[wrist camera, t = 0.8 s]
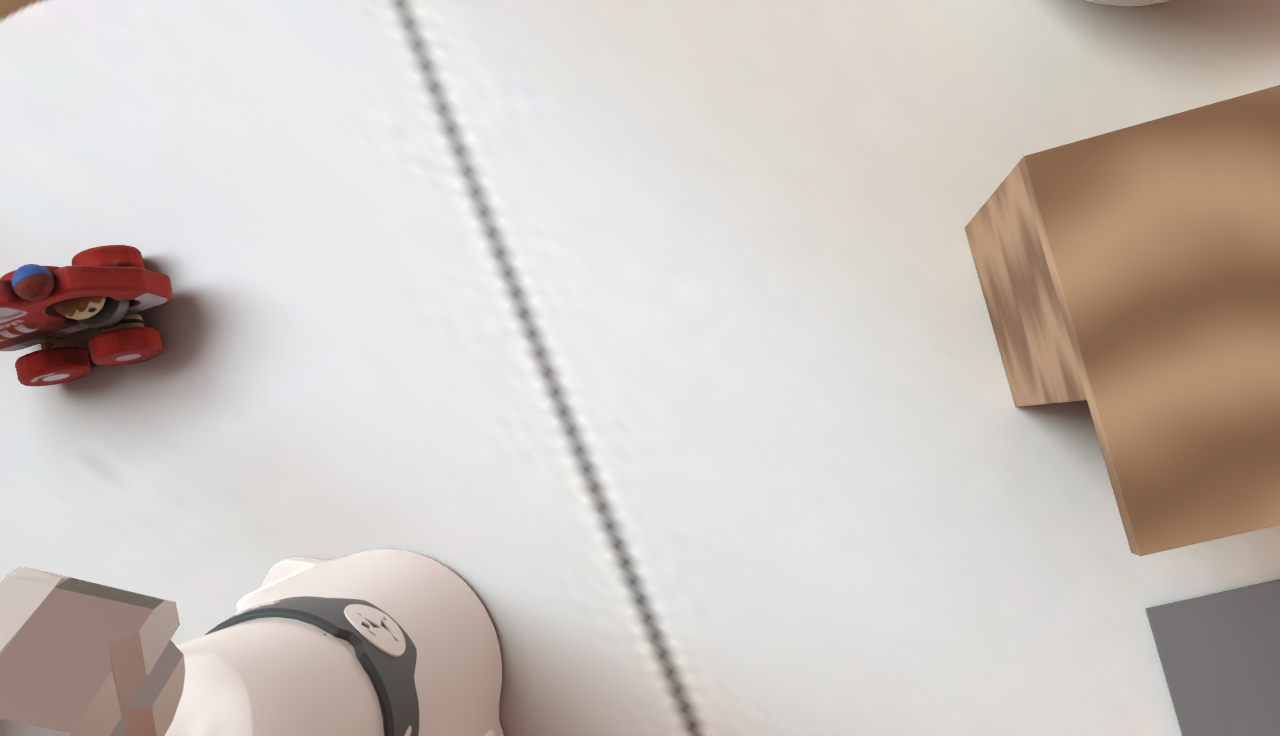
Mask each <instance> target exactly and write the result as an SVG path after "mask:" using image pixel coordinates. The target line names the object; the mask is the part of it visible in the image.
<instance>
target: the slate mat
mask: <svg viewBox="0 0 1280 736" xmlns="http://www.w3.org/2000/svg"><path fill="white" fill-rule="evenodd" d="M1146 612H1147V615H1148V619H1149V622H1150V626H1151V629H1152V632H1153V636H1154V639H1155V643H1156V646H1157V650H1158V653H1159V657H1160V660H1161V663H1162V667H1163V670H1164V674H1165V677H1166V681H1167V684H1168V687H1169V691H1170V694H1171V698H1172V701H1173V705H1174V708H1175V712H1176V715H1177V718H1178V722H1179V725H1180V729H1181V732H1182V736H1280V579H1279V580H1275V581H1270V582H1265V583H1261V584H1256V585H1252V586H1247V587H1243V588H1238V589H1233V590H1229V591H1224V592H1220V593H1215V594H1211V595H1206V596H1201V597H1197V598H1192V599H1188V600H1183V601H1179V602H1174V603H1170V604H1165V605H1160V606H1156V607H1151V608H1147V609H1146Z"/></svg>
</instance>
